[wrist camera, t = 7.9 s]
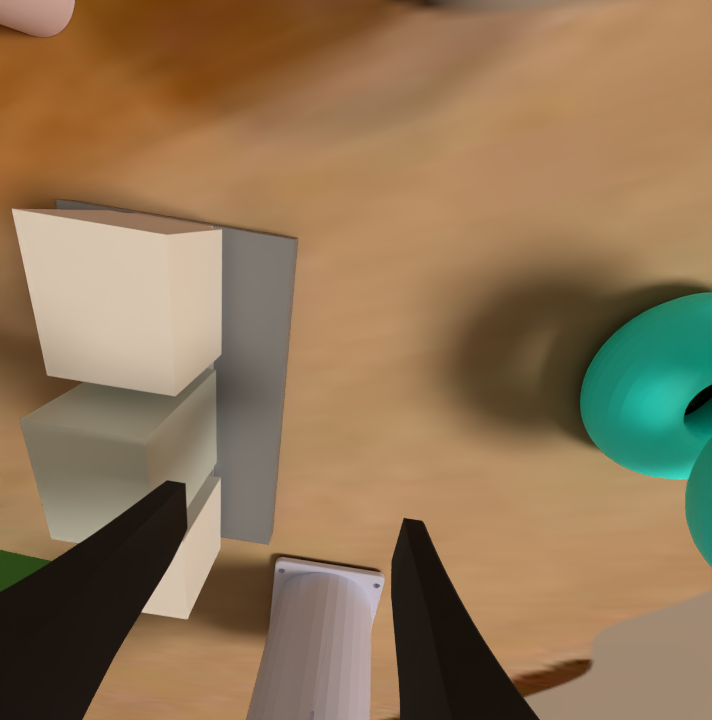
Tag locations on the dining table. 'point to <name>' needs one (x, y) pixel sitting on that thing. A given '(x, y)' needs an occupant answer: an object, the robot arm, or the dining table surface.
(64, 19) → the smoothie
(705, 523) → the donuts
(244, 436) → the plate
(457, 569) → the dining table surface
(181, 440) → the block
